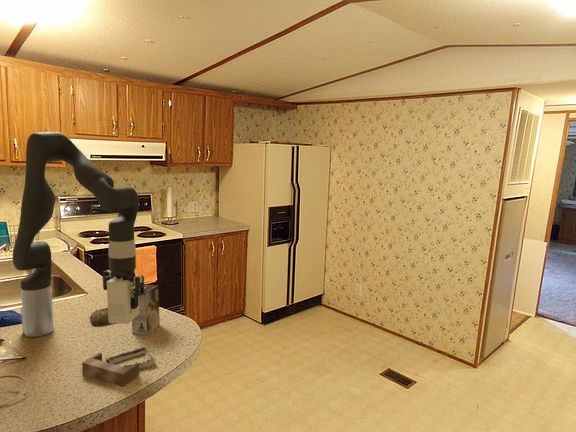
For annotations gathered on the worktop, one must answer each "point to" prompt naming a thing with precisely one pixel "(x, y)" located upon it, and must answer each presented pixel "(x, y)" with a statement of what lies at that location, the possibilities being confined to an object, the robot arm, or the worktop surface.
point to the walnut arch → (109, 371)
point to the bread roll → (100, 317)
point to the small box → (120, 301)
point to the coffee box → (147, 311)
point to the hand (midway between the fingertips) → (124, 306)
